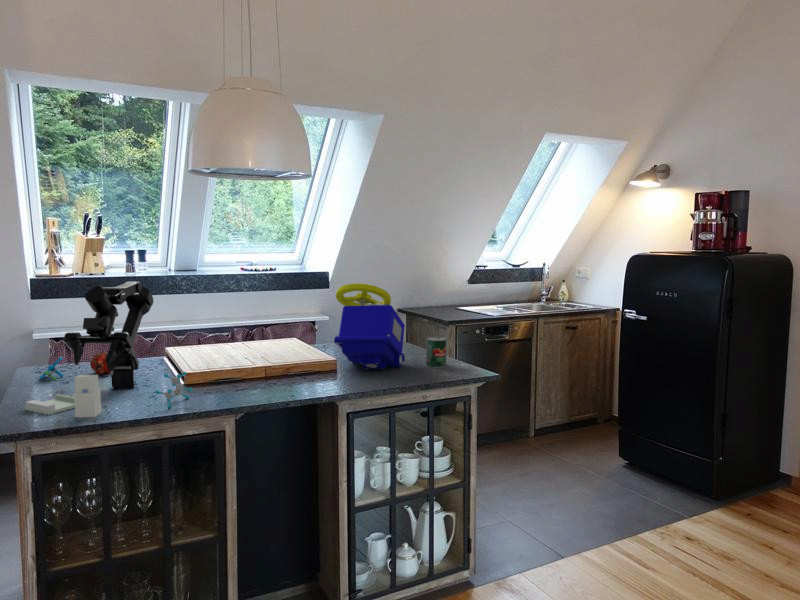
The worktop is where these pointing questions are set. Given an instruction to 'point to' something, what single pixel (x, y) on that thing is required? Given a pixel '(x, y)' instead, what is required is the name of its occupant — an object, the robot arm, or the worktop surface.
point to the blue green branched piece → (53, 369)
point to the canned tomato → (436, 352)
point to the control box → (370, 328)
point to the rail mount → (51, 404)
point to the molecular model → (177, 391)
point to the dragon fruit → (99, 364)
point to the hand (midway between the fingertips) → (91, 364)
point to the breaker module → (87, 396)
